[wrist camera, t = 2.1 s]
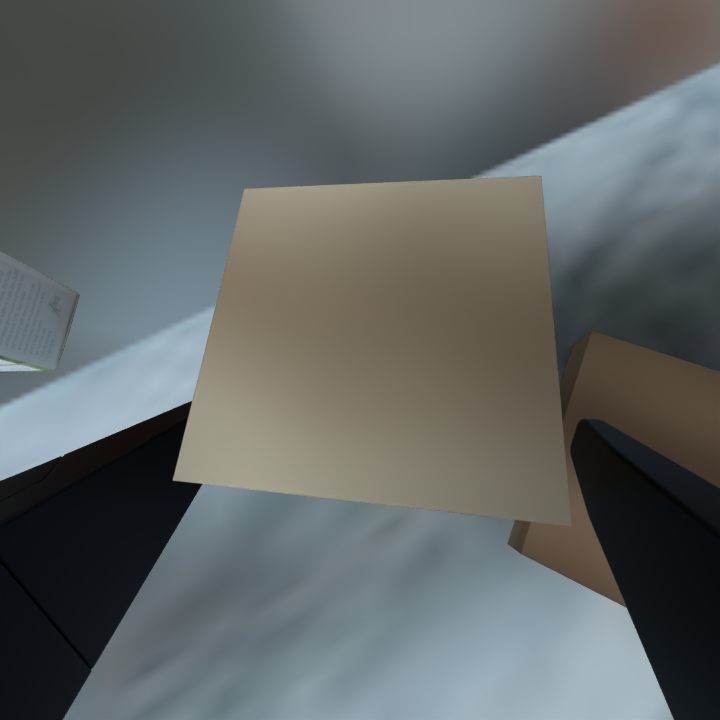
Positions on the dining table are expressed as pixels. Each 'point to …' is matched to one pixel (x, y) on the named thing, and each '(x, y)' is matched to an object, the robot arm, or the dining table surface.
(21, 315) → the syrup box
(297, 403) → the maple block
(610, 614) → the dining table surface
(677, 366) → the walnut block
